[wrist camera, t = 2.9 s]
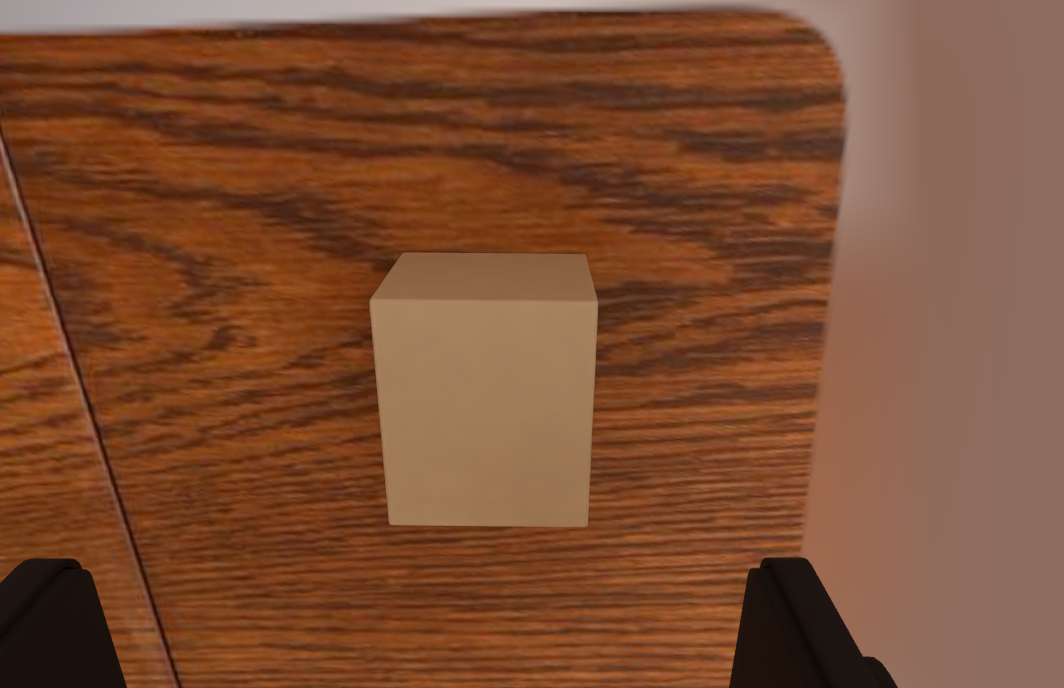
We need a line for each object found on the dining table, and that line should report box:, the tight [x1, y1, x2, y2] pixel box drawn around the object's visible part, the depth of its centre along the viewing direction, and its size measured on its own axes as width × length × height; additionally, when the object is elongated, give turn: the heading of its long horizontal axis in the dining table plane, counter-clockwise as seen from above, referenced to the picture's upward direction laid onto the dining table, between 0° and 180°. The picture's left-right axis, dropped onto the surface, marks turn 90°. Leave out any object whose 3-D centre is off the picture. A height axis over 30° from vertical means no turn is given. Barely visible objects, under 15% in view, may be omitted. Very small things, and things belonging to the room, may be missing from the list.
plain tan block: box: [369, 252, 598, 527], centre depth 18 cm, size 5×6×4 cm
